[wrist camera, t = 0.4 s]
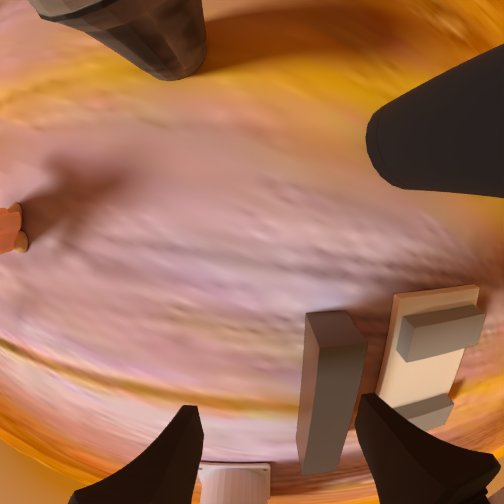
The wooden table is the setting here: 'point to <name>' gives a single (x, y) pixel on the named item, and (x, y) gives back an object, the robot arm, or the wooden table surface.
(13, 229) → the grandmother figurine
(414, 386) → the stand
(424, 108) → the wine bottle
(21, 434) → the wooden table surface
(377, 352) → the wooden table surface
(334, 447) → the handle bar
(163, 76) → the beverage cup
